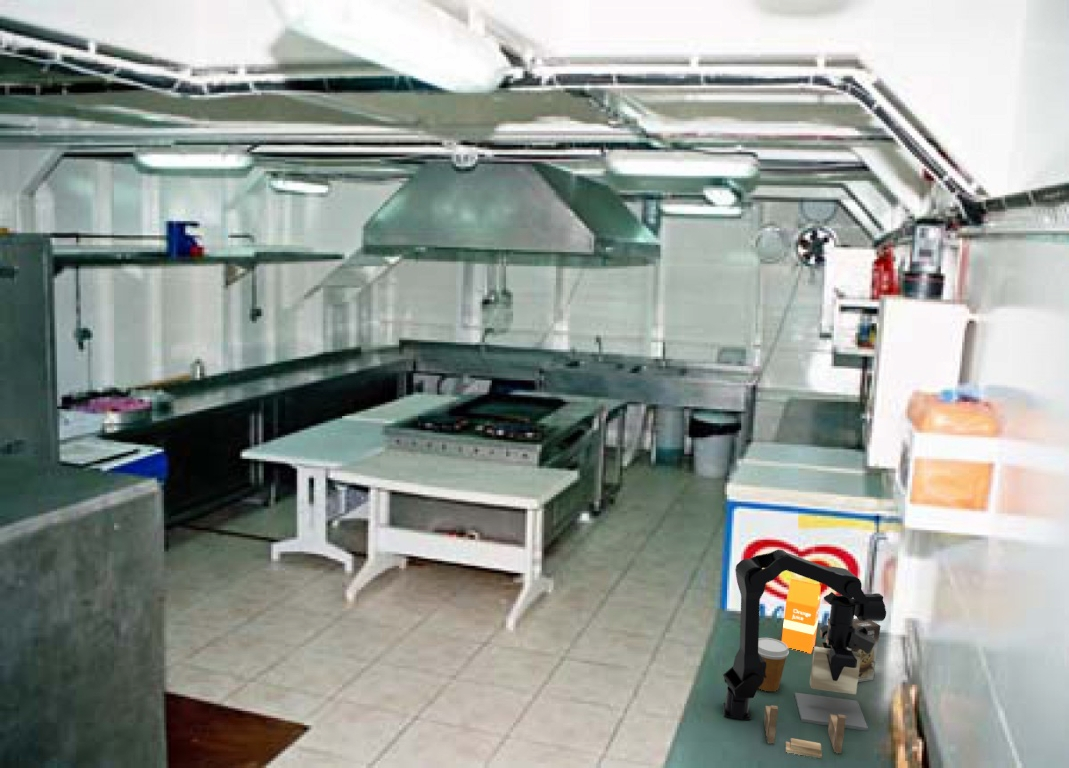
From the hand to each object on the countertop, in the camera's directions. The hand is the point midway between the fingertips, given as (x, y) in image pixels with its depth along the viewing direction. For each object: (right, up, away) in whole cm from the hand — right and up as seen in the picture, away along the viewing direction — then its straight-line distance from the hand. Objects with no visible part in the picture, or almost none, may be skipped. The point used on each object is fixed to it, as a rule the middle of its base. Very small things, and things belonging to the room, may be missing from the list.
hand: (833, 677), depth 236 cm
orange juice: (+3, -4, +41) cm, 41 cm away
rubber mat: (-1, -9, +1) cm, 10 cm away
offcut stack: (-13, -12, -18) cm, 25 cm away
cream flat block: (0, -3, 0) cm, 3 cm away
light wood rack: (-12, -11, -12) cm, 20 cm away
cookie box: (+13, -7, +23) cm, 27 cm away
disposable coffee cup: (-14, -7, +13) cm, 20 cm away
